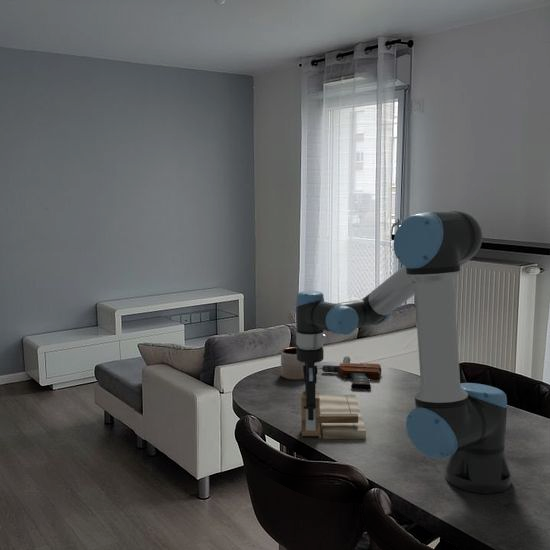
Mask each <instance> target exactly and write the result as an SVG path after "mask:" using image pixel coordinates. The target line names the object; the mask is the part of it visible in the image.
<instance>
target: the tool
mask: <svg viewBox="0 0 550 550" xmlns="http://www.w3.org/2000/svg"><path fill="white" fill-rule="evenodd" d="M318 369H321V370H322V372H324V373H336V374H338V376H339V377H340V378H341V379H343V380H346V379H347V380H352V381H353V382H352V383H351V385H350V389H351V390H361V389H366V390H365V391H371V390H372V385H371V382H370V381H379V380H380V379H381V375H382V367H381V364H379V363H366V362H364V363H361V362H360V363H356V362H355V363H351V358H350V357H349V356H344V357H343V359H342V362H340V363H339V365H334V364H333V365H329V364H326V365H325V364H324V365H323V366H322V367H320V368H319V367H317V370H318ZM369 379H372V380H369Z"/></svg>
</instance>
